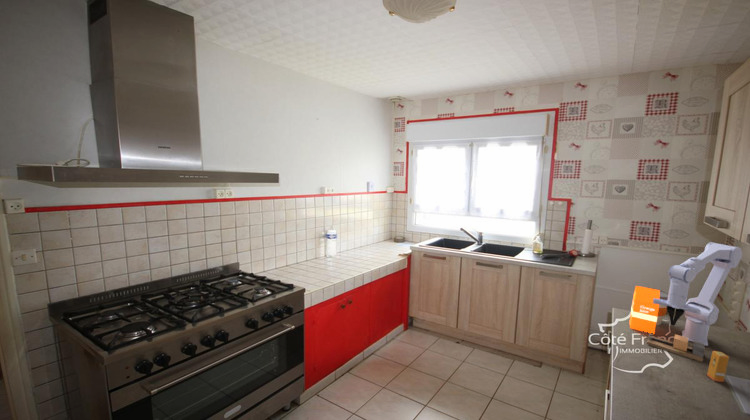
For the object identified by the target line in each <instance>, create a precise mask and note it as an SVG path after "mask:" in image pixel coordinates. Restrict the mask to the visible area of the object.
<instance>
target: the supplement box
mask: <svg viewBox="0 0 750 420" xmlns="http://www.w3.org/2000/svg"><path fill="white" fill-rule="evenodd" d="M729 359H730V356H728V355H727V354H725V353H724V352H722V351H717V350H712V353H711V357H710V361H709V365H708V369H707V373H706V376H707V377H708V378H710V380H712V381H713V382H717V383H718V382H719V383H724V381H725V376H726V373H727V367H728V364H729Z"/></svg>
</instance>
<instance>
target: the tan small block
mask: <svg viewBox="0 0 750 420" xmlns="http://www.w3.org/2000/svg"><path fill="white" fill-rule="evenodd" d="M673 342H674V343H673V344H674V345H673V348H676V349H680V350H683V351H687V346H688V347H689V341H688V338H687V337H683V336H682V335H679V334H674V339H673Z"/></svg>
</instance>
